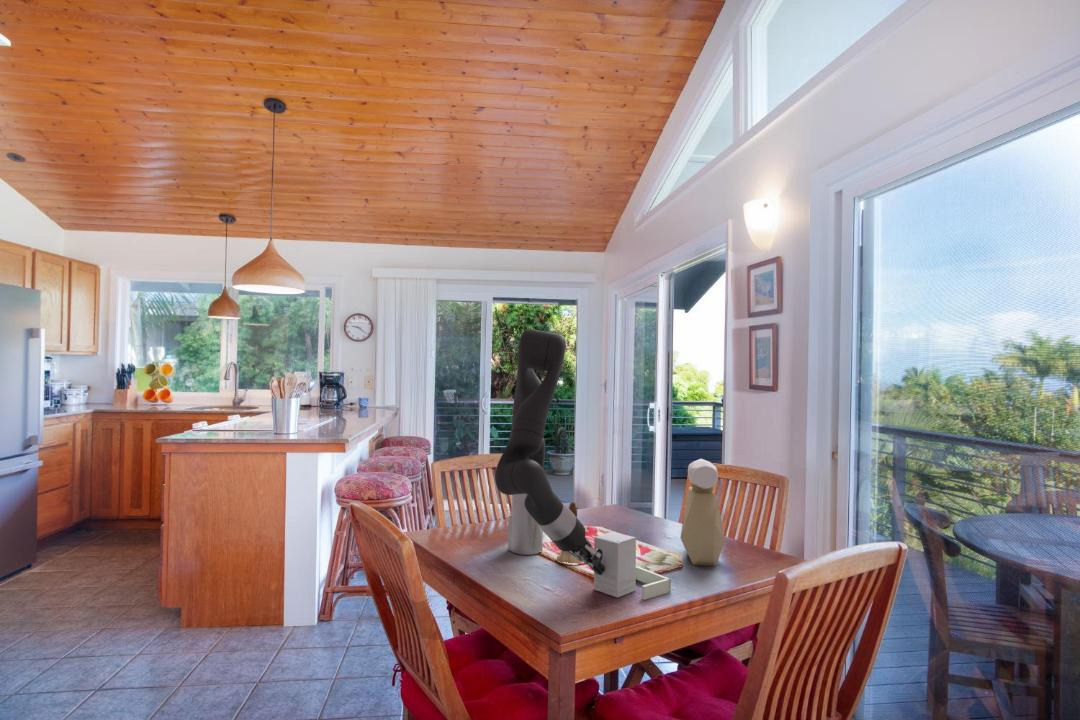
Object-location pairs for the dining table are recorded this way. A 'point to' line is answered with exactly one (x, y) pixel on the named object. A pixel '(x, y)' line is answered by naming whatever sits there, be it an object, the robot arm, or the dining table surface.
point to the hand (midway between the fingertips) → (601, 571)
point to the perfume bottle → (702, 516)
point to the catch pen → (652, 583)
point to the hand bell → (567, 555)
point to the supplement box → (616, 564)
